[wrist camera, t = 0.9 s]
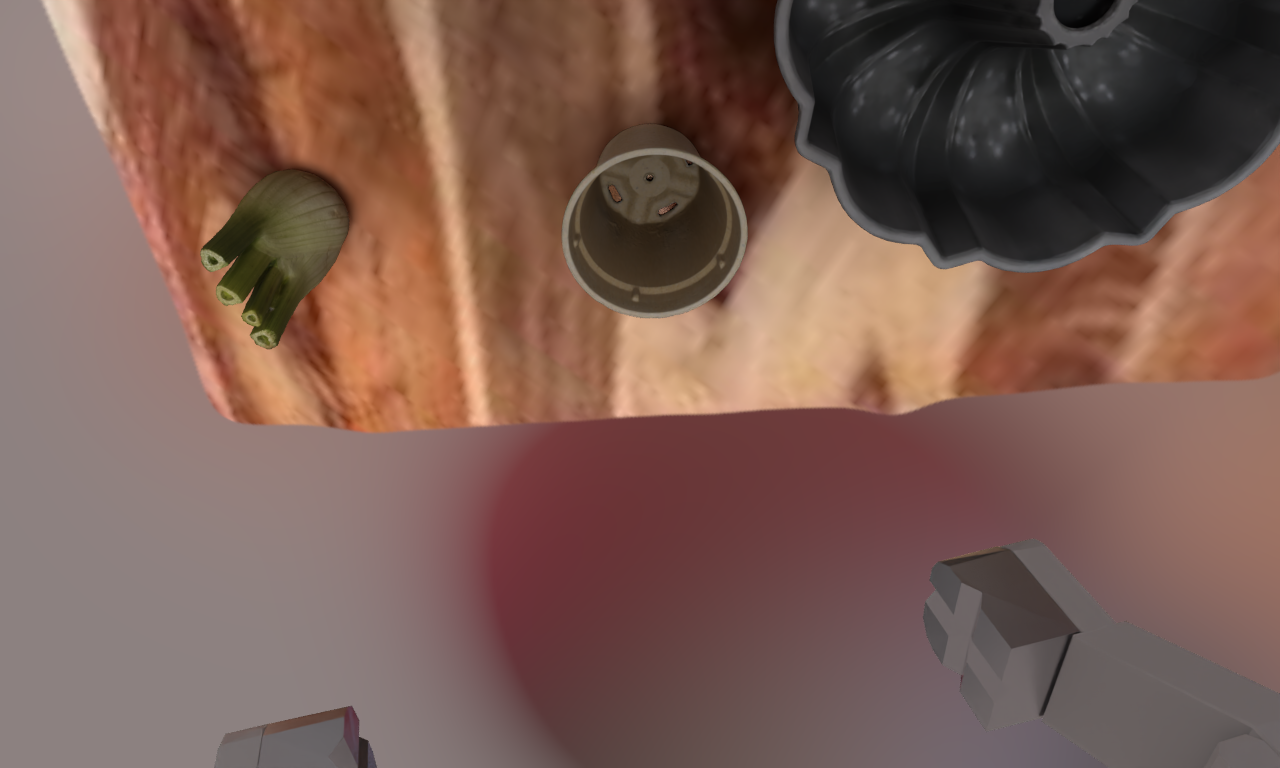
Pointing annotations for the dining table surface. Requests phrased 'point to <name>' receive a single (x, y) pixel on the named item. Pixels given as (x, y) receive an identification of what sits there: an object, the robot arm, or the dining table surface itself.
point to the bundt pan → (1030, 116)
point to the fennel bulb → (277, 248)
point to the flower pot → (653, 226)
